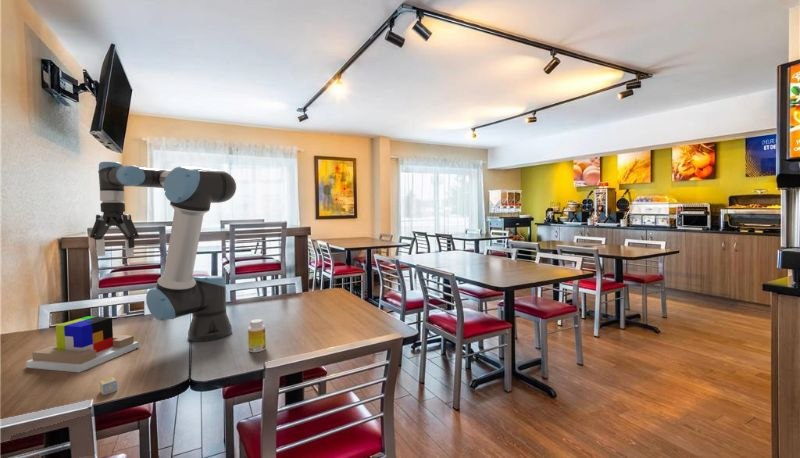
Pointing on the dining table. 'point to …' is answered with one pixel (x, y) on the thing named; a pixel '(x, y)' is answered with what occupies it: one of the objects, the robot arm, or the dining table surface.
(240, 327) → the dining table surface
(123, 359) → the dining table surface
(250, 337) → the supplement bottle
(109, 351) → the foundation plate
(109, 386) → the alphabet block
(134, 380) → the dining table surface
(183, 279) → the robot arm
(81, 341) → the puzzle toy
